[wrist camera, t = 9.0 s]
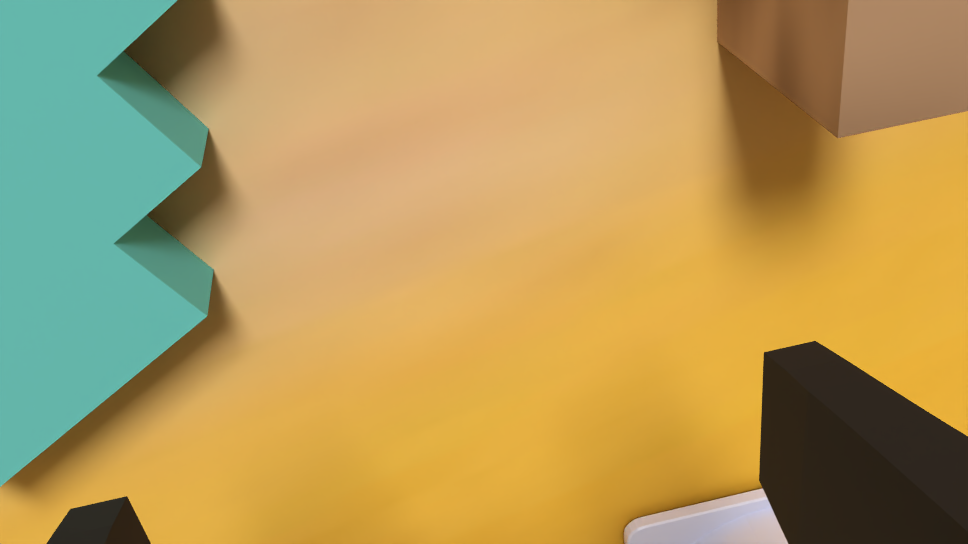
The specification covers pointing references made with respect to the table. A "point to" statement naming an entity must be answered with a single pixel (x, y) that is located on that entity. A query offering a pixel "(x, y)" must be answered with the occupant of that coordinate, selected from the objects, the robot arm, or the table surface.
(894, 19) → the slat
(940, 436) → the robot arm
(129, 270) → the alien figure
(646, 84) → the table surface
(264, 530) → the table surface
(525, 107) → the table surface
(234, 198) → the table surface
